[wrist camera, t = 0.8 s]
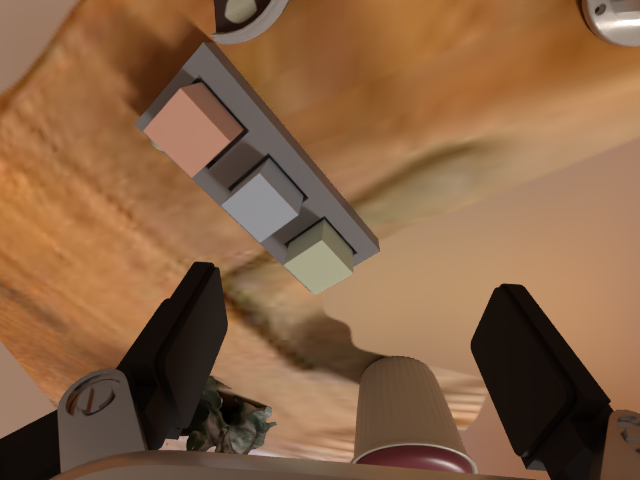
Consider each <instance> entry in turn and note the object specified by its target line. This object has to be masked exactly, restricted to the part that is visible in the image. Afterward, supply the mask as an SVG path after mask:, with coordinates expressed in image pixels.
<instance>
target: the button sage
mask: <svg viewBox="0 0 640 480" xmlns="http://www.w3.org/2000/svg"><path fill="white" fill-rule="evenodd" d="M283 265H284V266H285V267H286V268H287V269H288V270H289V271H290V272H291V273H292V274H293V275H294V276H295V277H296V278H297V279H298V280H299V281H300V282H301V283H302V284H303V285H304V286H306V287H307V288H308V289H309V290H310V291H311V292H312V293H313V294H314V295H317V294H319V293H320V292H322V291H324V290H326V289H327V288H329V287H331V286H332V285H334V284H336V283H337V282H340V281H341V280H343V279H345V278H346V277H348V276H350V275H352V274H353V254H352V249H351V248H350V247H349V246H348V245H347V244H346V243H345V242H344V240H343V239H342V238H341V237H340V236H339V235H338V234H337V233H336V231H335V230H334V229H333V228H332V227H331V226H330V225H329V224H328V223H327V221H326V220H325V219H323V220H322V221H320V222H319V223H318V224H316V225H315V226H313V227H312V228H310V229H309V230H307V231H306V232H304V233H303V234H302V235H300V236H299V237H297V238H296V239H294V240H293V241H291V242H290V243H289V246H288V250H287V253H286V257H285V261H284V264H283Z"/></svg>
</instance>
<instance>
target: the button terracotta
mask: <svg viewBox="0 0 640 480" xmlns="http://www.w3.org/2000/svg"><path fill="white" fill-rule="evenodd" d="M243 130H244V129H243V128H242V126H241V125H240V124H239V123H238V122H237V121H236V120H235V119H234V118H233V116H232V115H231V114H230V113H229V112H228V111H227V110H226V109H225V107H224V106H223V105H222V104H221V103H220V102H219V101H218V100H217V99H216V97H215V96H214V95H213V94H212V93H211V92H210V91H209V90H208V88H207V87H206V86H205V85H204V84H203V83H202V82H200V83H196V84H193V85H189V86H186V87H182V88H180V89H179V90H178V91H177V92H176V93H175V95H174V96H173V97H172V98H171V99H170V100H169V102H168V103H167V104H166V105H165V106H164V107H163V108H162V110H161V111H160V112H159V113H158V114H157V115H156V117H155V118H154V119H153V120H152V121H151V122H150V123H149V125H148V126H147V127H146V128H145V129H144V130H143V132H144V133H145V134H146V135H147V136H148V137H149V138H150V139H151V140H152V141H153V142H154V143H156V144H157V145H158V146H159V147H160V148H161V149H162V150H163V151H164V152H165V153H166V154H167V155H168V156H169V157H170V158H171V159H172V160H173V161H174V162H175V163H177V164H178V165H179V166H180V167H181V168H182V169H183V170H184V171H185V172H186V173H187V174H188V175H189V176H190V177H191V178H192V177H193V176H195V175H196V174H197V173H198V172H199V171H200V170H201V169H202V168H204V167H205V166H206V165H207V164H208V163H209V162H210V161H211V160H212V159H213V158H214V157H216V156H217V155H218V154H219V153H220V152H221V151H222V150H223V149H224V148H225V147H226V146H227V145H228V144H229V143H230V142H231V141H232V140H233V139H235V138H236V137H237V136H238V135H239V134H240V133H241V132H242V131H243Z"/></svg>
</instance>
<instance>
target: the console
mask: <svg viewBox="0 0 640 480" xmlns="http://www.w3.org/2000/svg"><path fill="white" fill-rule="evenodd" d="M200 82H202V83H203V84H204V85H205V86H206V87H207V88H208V90H209V91H210V92H211V93H212V94H213V95H214V96H215V97H216V99H217V100H218V101H219V102H220V103H221V104H222V105H223V106H224V107H225V109H226V110H227V111H228V112H229V113H230V114H231V115H232V116H233V118H234V119H235V120H236V121H237V122H238V123H239V124H240V125H241V126H242V128H243V129H244V130H243V131H242V132H241V133H240V134H239V135H238V136H237V137H236V138H235V139H233V140H232V141H231V142H230V143H229V144H228V145H227V146H226V147H225V148H224V149H223V150H222V151H221V152H220V153H219V154H218V155H217V156H216V157H214V158H213V159H212V160H211V161H210V162H209V163H208V164H207V165H206V166H205V167H204V168H202V169H201V170H200V171H199V172H198V173H197V174H196V175H195V176H193V177H192V178H191V177H190V176H189V175H188V174H187V173H186V172H185V171H184V170H183V169H182V168H181V167H180V166H179V165H178V164H177V163H176V164H177V165H178V166H179V167H180V168H181V169H182V170H183V171H184V172H185V173H186V174H187V175H188V176H189V177H190V178H191V179H192V180H193V181H194V182H196V183H197V184H198V185H199V186H200V187H201V188H202V189H203V190H204V191H205V192H206V193H207V194H208V195H209V196H210V197H211V198H212V199H213V200H214V201H216V202H217V203H218V204H219V205H220V206H221V205H222V204H223V202H224V201H225V200H226V198H227V197H228V196H229V194H230V193H231V192H232V190H233V189H234V188H235V187H236V186H237V185H238V184H239V183H240V182H242V181H243V180H244V179H245V178H246V177H247V176H249V175H250V174H251V173H252V172H253V171H254V170H256V169H257V168H258V167H259V166H260V165H261V164H263V163H264V162H265V161H266V160H267V159H268V158H270V159H271V160H272V161H273V162H274V163H275V164H276V166H277V167H278V168H279V169H280V170H281V171H282V172H283V173H284V174H285V176H286V177H287V178H288V179H289V180H290V181H291V182H292V183H293V185H294V186H295V187H296V188H297V189H298V190H299V191H300V192H301V193H302V195H303V200H302V204H301V208H300V211H299V215H298V216H296V217H295V218H294V219H292V220H291V221H289V222H288V223H287V224H285V225H284V226H283V227H281V228H280V229H278V230H277V231H276V232H274V233H273V234H272V235H270V236H269V237H267V238H266V239H265V240H263V241H262V242H260V244H261V245H262V246H263V247H264V248H265V249H266V250H267V251H268V252H269V253H270V254H271V255H272V256H273V257H274V258H275V259H276V260H277V261H279V262H280V263H281V264H282V265H283V264H284V261H285V257H286V253H287V250H288V246H289V243H290V242H291V241H293V240H294V239H296V238H297V237H299V236H300V235H302V234H303V233H304V232H306V231H307V230H309V229H310V228H312V227H313V226H315V225H316V224H318V223H319V222H320V221H322V220H323V219H325V220H326V221H327V223H328V224H329V225H330V226H331V227H332V228H333V229H334V230H335V231H336V233H337V234H338V235H339V236H340V237H341V238H342V239H343V240H344V242H345V243H346V244H347V245H348V246H349V247H350V248H351V249H352V254H353V267H354V266H356V265H357V264H359V263H361V262H362V261H364V260H366V259H368V258H369V257H371V256H373V255H374V254H376V253H378V252H380V248H379V242H378V239H377V237H376V236H375V235H374V234H373V233H372V231H371V230H370V229H369V228H368V227H367V225H366V224H365V223H364V222H363V220H362V219H361V218H360V217H359V216H358V214H357V213H356V212H355V211H354V210H353V208H352V207H351V206H350V205H349V204H348V202H347V201H346V200H345V199H344V198H343V196H342V195H341V194H340V193H339V192H338V190H337V189H336V188H335V187H334V186H333V184H332V183H331V182H330V181H329V180H328V178H327V177H326V176H325V175H324V174H323V172H322V171H321V170H320V169H319V168H318V166H317V165H316V164H315V163H314V162H313V160H312V159H311V158H310V157H309V156H308V154H307V153H306V152H305V151H304V150H303V148H302V147H301V146H300V145H299V144H298V142H297V141H296V140H295V139H294V138H293V136H292V135H291V134H290V133H289V131H288V130H287V129H286V128H285V127H284V125H283V124H282V123H281V122H280V121H279V119H278V118H277V117H276V116H275V115H274V113H273V112H272V111H271V110H270V109H269V107H268V106H267V105H266V104H265V103H264V101H263V100H262V99H261V98H260V97H259V95H258V94H257V93H256V92H255V91H254V89H253V88H252V87H251V86H250V85H249V83H248V82H247V81H246V80H245V79H244V77H243V76H242V75H241V74H240V73H239V71H238V70H237V69H236V68H235V67H234V65H233V64H232V63H231V62H230V61H229V59H228V58H227V57H226V56H225V55H224V53H223V52H222V51H221V50H220V49H219V47H218V46H217V45H216V44H215V43H214V42H203V43H202V44H201V45H200V47H199V48H198V49H197V50H196V51H195V53H194V54H193V55H192V56H191V57H190V59H189V60H188V61H187V62H186V63H185V65H184V66H183V67H182V68H181V69H180V71H179V72H178V73H177V74H176V75H175V76H174V78H173V79H172V80H171V81H170V82H169V84H168V85H167V86H166V87H165V88H164V90H163V91H162V92H161V93H160V94H159V96H158V97H157V98H156V99H155V100H154V101H153V103H152V104H151V105H150V106H149V107H148V109H147V110H146V111H145V112H144V113H143V115H142V116H141V117H140V118H139V119H138V121H137V122H136V123H135V125H136V126H137V127H138V128H139V129H140V130H141V131H142V132H143V130H144V129H145V128H146V127H147V126H148V125H149V123H150V122H151V121H152V120H153V119H154V118H155V117H156V115H157V114H158V113H159V112H160V111H161V110H162V108H163V107H164V106H165V105H166V104H167V103H168V102H169V100H170V99H171V98H172V97H173V96H174V95H175V93H176V92H177V91H178V90H179V89H180V88H182V87H186V86H189V85H193V84H196V83H200ZM143 133H144V132H143ZM144 134H145V133H144ZM145 135H146V134H145ZM146 136H147V135H146ZM147 137H148V136H147ZM148 138H149V137H148ZM149 139H150V138H149ZM150 141H151V144H152V145H153V146H154V147H155V148H156V149H158V150H160V151H163V150H162V149H161V148H160V147H159V146H158V145H157V144H156V143H154V142H153V141H152V140H151V139H150ZM163 152H164V151H163ZM164 153H165V152H164ZM165 154H166V153H165ZM166 155H167V154H166ZM167 156H168V155H167ZM168 157H169V156H168ZM169 158H170V157H169ZM170 159H171V158H170ZM171 160H172V159H171ZM172 161H173V160H172ZM173 162H174V161H173ZM221 207H222V206H221ZM222 208H223V207H222ZM223 209H224V208H223ZM224 210H225V209H224ZM225 211H226V210H225ZM226 212H227V211H226ZM227 213H228V212H227ZM228 214H229V213H228ZM229 215H230V214H229ZM230 216H231V215H230ZM231 217H232V216H231ZM232 218H233V217H232ZM233 219H234V218H233ZM234 220H235V219H234ZM235 221H236V220H235ZM240 225H241V224H240ZM241 226H242V225H241ZM242 227H243V226H242ZM243 228H244V227H243ZM244 229H245V228H244ZM245 230H246V229H245ZM246 231H247V230H246ZM247 232H248V231H247ZM248 233H249V232H248ZM249 234H250V233H249ZM250 235H251V234H250ZM251 236H252V235H251ZM252 237H253V236H252ZM253 238H254V237H253ZM254 239H255V238H254ZM255 240H256V239H255ZM256 241H257V240H256ZM283 266H284V265H283ZM284 267H285V266H284ZM285 268H286V267H285ZM286 269H287V268H286ZM287 270H288V269H287ZM288 271H289V270H288ZM289 272H290V271H289ZM290 273H291V272H290ZM291 274H292V273H291ZM292 275H293V274H292ZM293 276H294V275H293ZM294 277H295V276H294ZM295 278H296V277H295ZM296 279H297V278H296ZM297 280H298V279H297ZM298 281H299V280H298ZM305 287H306V286H305ZM306 288H307V287H306ZM307 289H308V288H307ZM308 290H309V289H308ZM309 291H310V290H309ZM310 292H311V291H310Z"/></svg>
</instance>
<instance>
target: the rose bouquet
mask: <svg viewBox="0 0 640 480" xmlns="http://www.w3.org/2000/svg"><path fill="white" fill-rule="evenodd" d="M218 387H219V388H228V389H232V388H230V387H228V386H226V385H224V384H223V383H221V382H219V381H217V380H215V379H214V378H213V377H212V376H209V378H208V380H207V383H206V385H205V388H204V390H203V393H202V395H201V398H200V400H199V403H198V405H197V408H196V410H195V413H194V415H193V418H192V420H191V423H190V425H189V426H188V428H183V429H182V431H181V434H180V436H189V438H188V440H187V444H186V447H187V451H198V452H206V451H207V450H208V449H209V448H211V447H213V446H216V449H215V453H231V454H245V455H247V454H248V453H249V452H250V450H253V449H256V448H258V447H260V446H262V445H263V444H264V439H265V435H266V432H267V431H268V430H269V428H270V427H272V426H274V425H277V424H275V423H276V422H270V423H267V422H266V418H269V417H270V416H271V415H272V414H271V412H272V411H271V409H272V408H269V407H268V406H266V407H263V408H257V407H254V406H253V405H251V404H249V403H247V402H245V401H243V400H242V399H240V398H238V397H237V396H234V398H233V399H234V400H235V401H236V402H237V403H238V404H239V405H240V406H239V408H238V409H236V410H234V411H229V414H228V415H226V417H227V419H223V418H222V414H221V412H220V411H219V409H220V408H221V406H222V401H223V399H222V398H221V397H220V396H219V394H218V392H217V391H216V389H217V388H218ZM261 411H262V412H261ZM261 414H265V415H261ZM167 445H168V443H167ZM167 445H166V446H167ZM193 447H194V448H193ZM192 448H193V449H192Z"/></svg>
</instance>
